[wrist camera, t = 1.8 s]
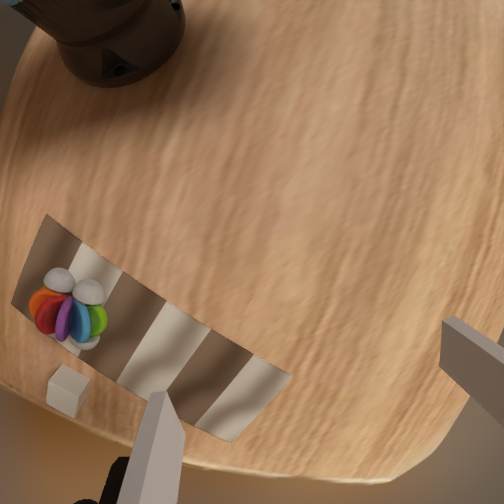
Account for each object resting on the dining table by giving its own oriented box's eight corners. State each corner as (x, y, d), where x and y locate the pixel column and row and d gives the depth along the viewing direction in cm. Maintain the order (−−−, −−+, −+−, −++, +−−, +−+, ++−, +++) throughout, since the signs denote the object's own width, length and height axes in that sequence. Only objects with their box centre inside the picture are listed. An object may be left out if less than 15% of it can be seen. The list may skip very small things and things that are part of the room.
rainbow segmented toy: (50, 258, 34) (18, 273, 27) (119, 285, 35) (96, 307, 28) (43, 319, 35) (14, 342, 28) (107, 346, 36) (87, 376, 29)
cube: (58, 386, 37) (45, 403, 33) (62, 363, 37) (48, 380, 32) (85, 400, 38) (74, 419, 34) (90, 378, 37) (78, 396, 33)
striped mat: (12, 302, 35) (11, 303, 34) (47, 214, 33) (46, 214, 33) (230, 441, 41) (230, 442, 40) (292, 375, 39) (292, 376, 39)
